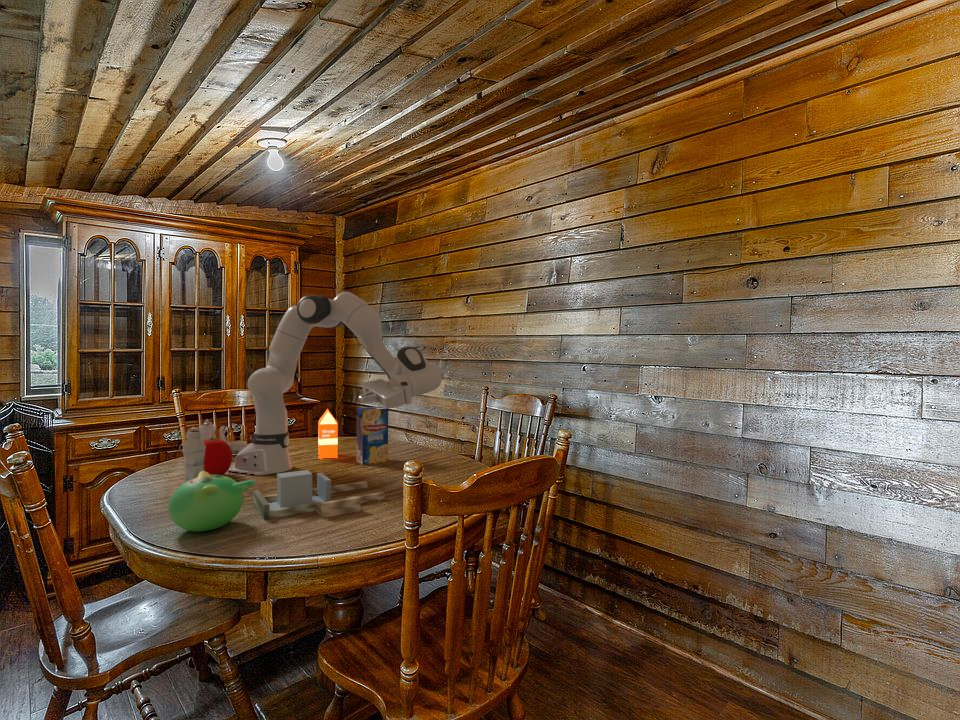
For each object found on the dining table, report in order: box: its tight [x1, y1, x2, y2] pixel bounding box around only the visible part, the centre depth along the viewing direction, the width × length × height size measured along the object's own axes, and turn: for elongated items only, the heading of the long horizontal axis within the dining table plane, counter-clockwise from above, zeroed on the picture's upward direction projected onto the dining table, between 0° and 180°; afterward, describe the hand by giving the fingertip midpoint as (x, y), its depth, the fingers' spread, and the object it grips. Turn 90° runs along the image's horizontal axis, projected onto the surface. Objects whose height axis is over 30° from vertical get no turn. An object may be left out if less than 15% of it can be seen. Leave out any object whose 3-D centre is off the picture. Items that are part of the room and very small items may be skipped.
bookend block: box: [269, 469, 332, 510], centre depth 157 cm, size 18×10×10 cm, turn 123°
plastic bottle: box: [182, 429, 206, 484], centre depth 167 cm, size 6×7×20 cm
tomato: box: [203, 437, 233, 476], centre depth 188 cm, size 13×11×14 cm
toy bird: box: [168, 471, 257, 533], centre depth 138 cm, size 18×17×15 cm
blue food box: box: [356, 405, 389, 466], centre depth 213 cm, size 7×11×22 cm, turn 124°
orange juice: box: [317, 408, 339, 460], centre depth 221 cm, size 8×9×20 cm
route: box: [252, 480, 385, 521], centre depth 158 cm, size 36×23×4 cm, turn 124°
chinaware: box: [178, 418, 247, 454], centre depth 218 cm, size 28×17×17 cm, turn 98°
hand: (360, 399), depth 170 cm, fingers closed
